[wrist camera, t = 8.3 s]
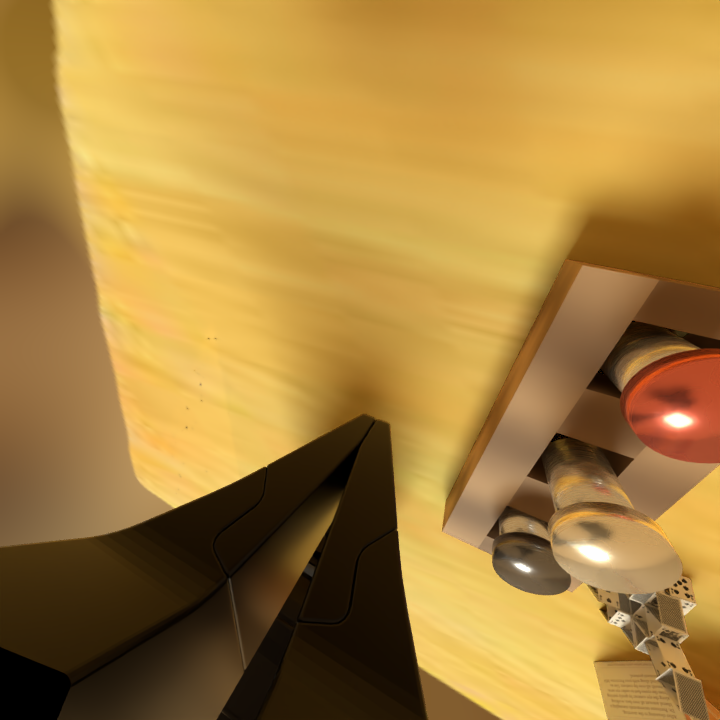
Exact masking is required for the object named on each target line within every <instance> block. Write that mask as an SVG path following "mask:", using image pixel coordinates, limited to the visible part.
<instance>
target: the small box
mask: <svg viewBox="0 0 720 720" xmlns="http://www.w3.org/2000/svg"><path fill="white" fill-rule="evenodd" d="M594 666H595V670H596V674H597V678H598V682H599V686H600V690H601V694H602V698H603V702H604V706H605V710H606V714H607V718H608V720H697V719H695V718H693V717H691V716H688V715H686V714H684V713H682V712H680V711H679V710H678V708H677V707H676V706H675V704H674V703H673V701H672V700H671V699H670V697H669V696H668V694H667V693H666V692H665V690H664V689H663V687H662V686H661V684H660V683H659V682H658V680H656V678H658V676H657V674H656V671H655V669H654V666H653V664H652V661H651V660H648V661H605V662H594ZM705 701H706V705H707V710H708V715H709V719H710V720H720V711H719V710H717V709H716V708H715V707H714V706H713V705H712V704H711V703H710V702H708V701H707V700H706V699H705Z"/></svg>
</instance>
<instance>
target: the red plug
mask: <svg viewBox="0 0 720 720" xmlns="http://www.w3.org/2000/svg"><path fill="white" fill-rule="evenodd" d="M600 368H601V369H602V371H603V372H604V373H605V374H606V375H607V377H608V378H609V379H610V380H611V381H612V382H613V384H614V385H615V386H616V387H617V388H618V389H619V391H620V392H621V397H620V409H621V413H622V415H623V417H624V419H625V420H626V422H627V423H628V425H629V426H630V427H631V429H632V430H633V431H634V432H635V434H636V435H637V436H638V438H639V439H640V440H641V441H642V442H643V443H644V444H645V445H646V446H648V447H649V448H651V449H652V450H654V451H656V452H658V453H660V454H662V455H664V456H667V457H669V458H673V459H677V460H681V461H686V462H693V463H708V464H711V463H720V349H701V348H699V347H697V346H695V345H693V344H692V343H690V342H688V341H686V340H684V339H683V338H681V337H679V336H677V335H675V334H673V333H672V332H670V331H668V330H666V329H664V328H663V327H660V326H656V325H652V324H647V323H643V322H635V323H630V324H629V326H628V327H627V329H626V330H625V332H624V333H623V335H622V336H621V338H620V339H619V341H618V342H617V344H616V345H615V347H614V348H613V350H612V351H611V352H610V354H609V355H608V357H607V358H606V360H605V361H604V363H603V364H602V366H601V367H600Z"/></svg>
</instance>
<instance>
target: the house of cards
mask: <svg viewBox="0 0 720 720" xmlns="http://www.w3.org/2000/svg"><path fill="white" fill-rule="evenodd" d="M588 587H589V588H590V590H591V591H592V593H593V594H594V596H595V597H596V598H597V600H598V601H599V602H602V603H605V604H607V612H605V611H603V610H600V609H599V610H600V611H601V612H602V614H603V615H604V617H605V618H606V620H607V621H608V623H610V624H613V625H615V626H618V627H620V628H621V629H622V630H623V632H624V633H625V635H626V636H627V638H628V639H629V640H630V642H631V643H632V645H633V646H634V649H636V650H638V651H641V652H643V653H646V654H648V655H649V656H650V659H651V661H652V664H653V666H654V669H655V671H656V674H657V676H658V678H656V680H658V682H659V683H660V684H661V686H662V687H663V689H664V690H665V692H666V693H667V694H668V696H669V697H670V699H671V700H672V701H673V703H674V704H675V706H676V707H677V708H678V710H679V711H680V712H682V713H684V714H686V715H688V716H691V717H693V718H695V719H697V720H710V719H709V715H708V710H707V705H706V701H705V696H704V691H703V687H702V682H701V680H699V679H697V678H695V676H694V674H693V672H692V669H691V667H690V665H689V663H688V661H687V659H686V657H685V655H684V653H683V651H682V648H681V646H680V643H681V642H683V641H684V640H685V639H686V638H688V637H689V634H688V632H687V627H686V622H685V617H684V616H685V615H686V614H687V613H688V612H689V611H690V610H691V609H693V608H694V607H695V606H696V605H697V604H696V601H695V596H694V592H693V588H692V583H691V579H690V578H687V577H684V576H681V577H680V579H679V580H678V581H677V582H676V583H675V584H674V585H672V586H671V587H669V588H667V589H664V590H662V591H658V592H654V593H648V594H624V593H616V592H611V591H606V590H603V589H599V588H596V587H593V586H591V585H588Z"/></svg>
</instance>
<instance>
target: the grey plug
mask: <svg viewBox="0 0 720 720" xmlns="http://www.w3.org/2000/svg"><path fill="white" fill-rule="evenodd" d="M499 534H500V536H498V537H497V538H495V540H494V541H493V543H492V563H493V567H494V570H495V571H496V573H497V574H498V575H499V576H500V577H501V578H502V579H503V580H504V581H505V582H507V583H508V584H510V585H512V586H514V587H515V588H518V589H520V590H523V591H525V592H529V593H533V594H538V595H555V594H560V593H562V592H564V591H566V590H567V589H568V588H569V587H570V585H571V577H570V574H568V573H567V572H566V571H565V570H564V569H563V568H562V567H561V566H560V565H559V564H558V563H557V561H556V559H555V557H554V555H553V551H552V547H551V542H550V538H549V533H548V522H546V521H543V520H541V519H538V518H536V517H534V516H531V515H529V514H526V513H524V512H522V511H519V510H517V509H514V508H512V507H510V506H506V508H505V509H504V510H503V512H502V513H501V515H500V516H499Z"/></svg>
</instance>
